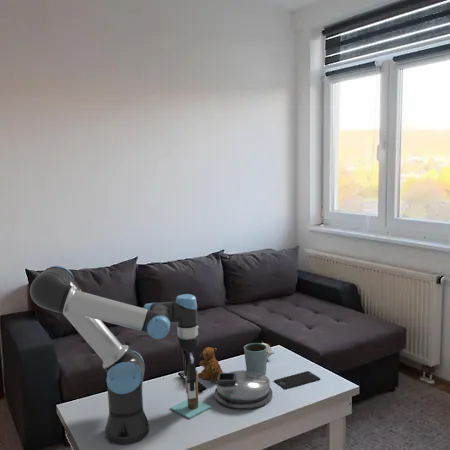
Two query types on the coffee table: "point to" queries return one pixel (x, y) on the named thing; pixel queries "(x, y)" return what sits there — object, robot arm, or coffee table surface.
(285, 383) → the cell phone
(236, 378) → the disc
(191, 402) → the key peg
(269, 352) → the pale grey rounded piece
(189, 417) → the key mat
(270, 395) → the base
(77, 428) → the coffee table surface
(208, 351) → the brown teddy bear
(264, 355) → the green cup
